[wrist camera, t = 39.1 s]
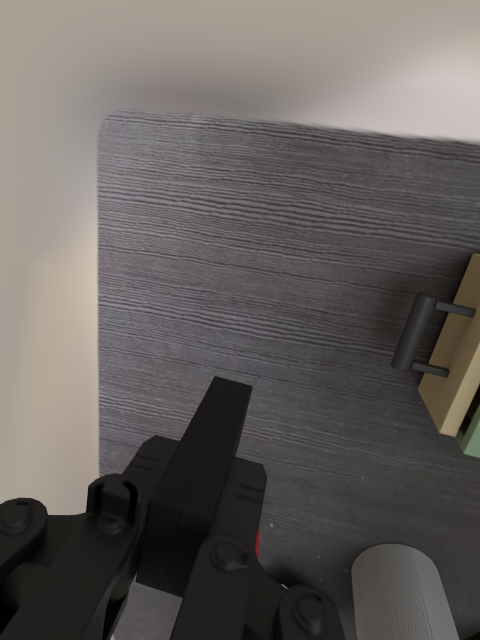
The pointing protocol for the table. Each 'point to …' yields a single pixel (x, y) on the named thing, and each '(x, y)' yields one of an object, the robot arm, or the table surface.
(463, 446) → the cabinet
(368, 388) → the table surface
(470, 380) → the drawer
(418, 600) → the cup
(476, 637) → the manual coffee grinder
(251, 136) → the table surface
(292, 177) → the table surface
